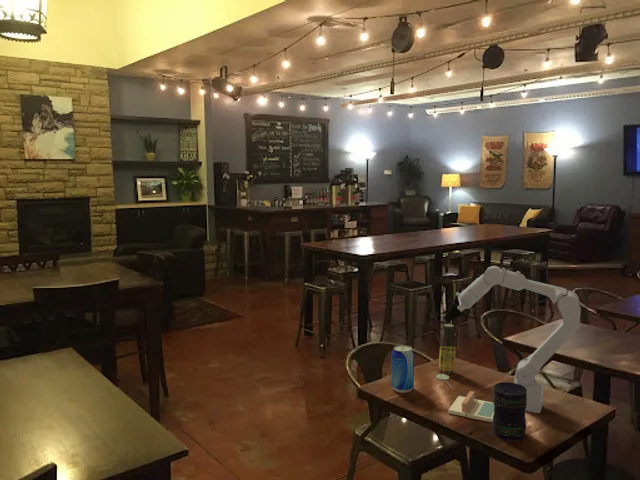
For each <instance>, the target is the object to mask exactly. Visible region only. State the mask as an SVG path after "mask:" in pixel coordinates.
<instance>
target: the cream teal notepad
mask: <svg viewBox="0 0 640 480" xmlns="http://www.w3.org/2000/svg"><path fill="white" fill-rule="evenodd" d="M475 399H476V398H475ZM493 415H494V402H492V401H486V400H482V399H476V401H475V402H474V404H473V406H472V407H471V409H470V410H469V412H468V413H467V416H466V418H469V419H473V420H479V421H483V422H488V423H492V424H493Z"/></svg>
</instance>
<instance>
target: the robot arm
mask: <svg viewBox="0 0 640 480" xmlns="http://www.w3.org/2000/svg"><path fill="white" fill-rule="evenodd" d="M497 285H499V286H501V287H503V288H508V289H512V290H516V291H522V290H524V289H525V290H527V291H531V292H534V293H538V294H540V295H542V296H546V297H548V298H549V299H550V301H551V302H552V303H553V304H556V303H557V308H558V311H559V313H560V315H561V317H562V322H561V323H560V325H559V326H557V328H555V330H553V332H551V334H550V335H549V336H548V337H547V338H546V339H545V340H544V341H543V342H542V343H541V344H540V345H539V346H538V347H537V349H535V350H534V352H533V353H531V354H529V355H528V357H526V358H524V359H523V358H522V359H521V360H520V361H518V363H517V367H516V370H515V373H514V381H513V383H516V384H519V385H522V386H524V387H525V388H526V389H527V403H526V404H527V406H526V409H525V412H529V413H535V414H540V413H541V412H542V408H543V406H544V385H543V384H542V383H538V382H537V379H536V375H537V374H538V373H539V372H540V371H541V368H542V367H543V366H544V365H545V364H546V363H547V362H548V360H549V359H551V358H552V356H553V355H555V354H556V353H557V351H558V350H559V349H560V348H561V347H563V345H565V344H566V342H567V341H568V340H569V339H570V338H571V337H572V336H573V335H574V334H575V333H576V332H577V331H578V330H579V328H580V323H581V322H580V321H581V312H582V311H581V308H582V307H581V305H582V304H581V302H580V298H579V295H578V294H577V293H576V292H574V291H573V290H567V288H565V287H560V286H557V285H552V284H548V283H545V282H540V281H535V280H531V279H527V278H526V276H525V275H524V274H523V273H521V271H518V270H517V271H516V272H515V271H511V270H508V269H506V268H505V267H502V268H501V267H499V266H497V265H492V266H488V267H487V269H486V270H485V271H484V273H483V274H481V275H479V277H477V278H476V279H475V280H474V281H472V282H471V283H470V285H468V286H467V287H466V288H464V290H463V291H462V292H459V291H457V292H455V299H454V300H453V302H452V303H451V304H450V306H449V307H448V308H447V310H446V314H445V315H444V317H443V319H444V320H445V322H446V323H449V322H451V321H453V320H455V319H457V318H459V317H463V316H465V315H466V313H465V312H464V311H465V309H471V308H472V306H473V305H474V304H475V303H477V302H478V301H479V300H480V299H481V298H482V297H483V296H485V295H486V294H487V293H488V292H489V291H490V289H491V288H493V287H494V286H497Z"/></svg>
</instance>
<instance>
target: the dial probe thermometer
mask: <svg viewBox="0 0 640 480" xmlns="http://www.w3.org/2000/svg"><path fill="white" fill-rule="evenodd" d="M435 378H436V379H437V380H439V381H445V382H446V384H447V385H448V386H449V387H450V388H451V389H452V390H454V391H455V389H454V387H452V386H451V384H450V383H449V382H448V380H450V376H449V374H448V375H446V374H442V373H438V374H436V376H435Z"/></svg>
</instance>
